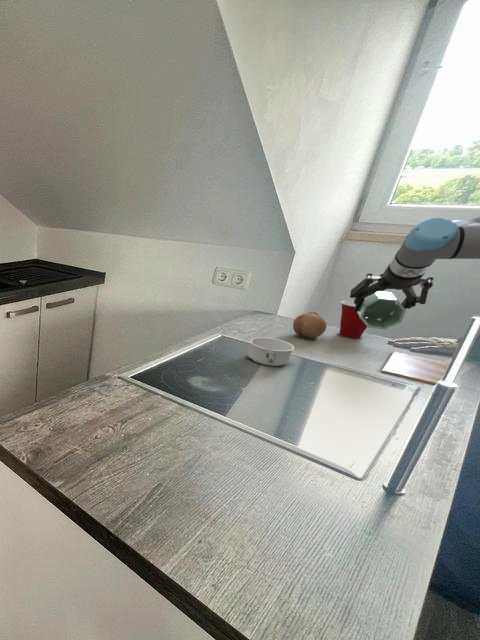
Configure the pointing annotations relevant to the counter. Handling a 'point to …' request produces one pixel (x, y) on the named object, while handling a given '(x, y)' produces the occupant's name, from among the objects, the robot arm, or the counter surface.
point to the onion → (309, 325)
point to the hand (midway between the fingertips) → (377, 309)
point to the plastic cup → (351, 321)
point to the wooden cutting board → (415, 367)
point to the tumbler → (381, 310)
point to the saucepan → (270, 351)
